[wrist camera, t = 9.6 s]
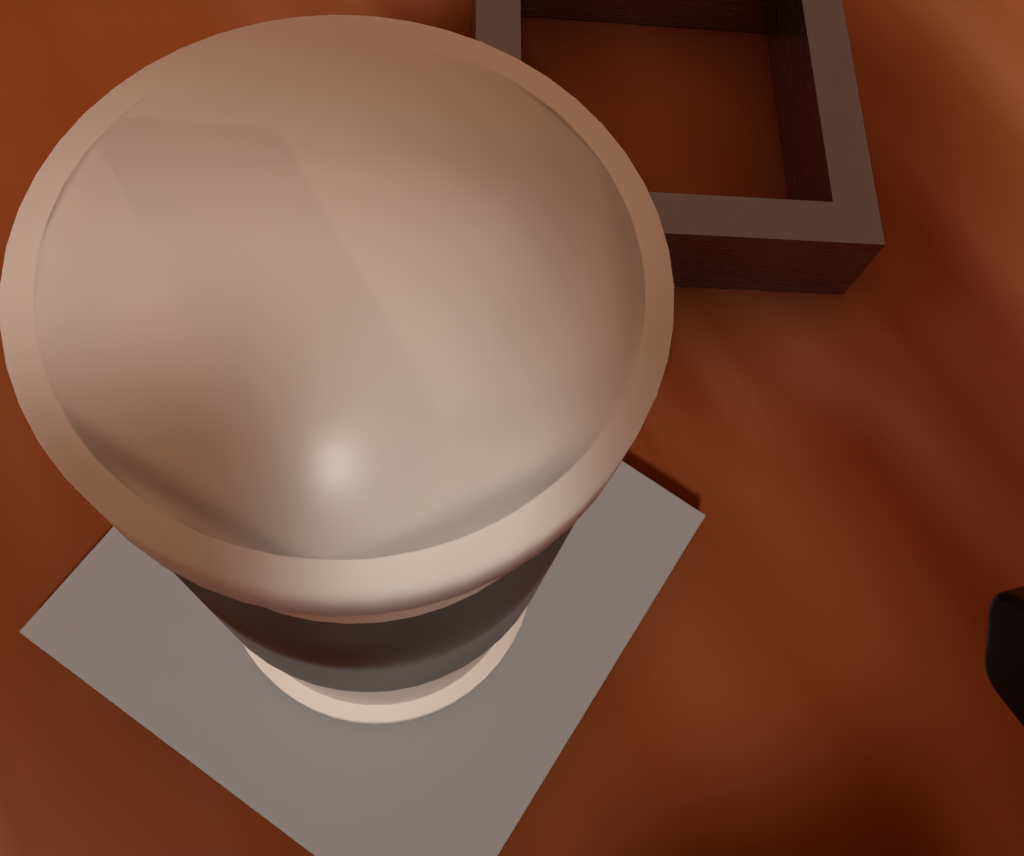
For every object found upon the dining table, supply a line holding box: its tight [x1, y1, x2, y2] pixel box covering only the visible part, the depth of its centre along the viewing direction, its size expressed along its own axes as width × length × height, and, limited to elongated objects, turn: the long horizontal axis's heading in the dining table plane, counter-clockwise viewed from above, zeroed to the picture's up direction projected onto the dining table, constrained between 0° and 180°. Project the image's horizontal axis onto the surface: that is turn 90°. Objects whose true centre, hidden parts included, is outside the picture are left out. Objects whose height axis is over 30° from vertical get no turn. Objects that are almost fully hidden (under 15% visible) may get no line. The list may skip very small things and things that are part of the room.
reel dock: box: [471, 0, 885, 294], centre depth 26 cm, size 10×10×2 cm
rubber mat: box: [20, 461, 705, 856], centre depth 22 cm, size 11×11×1 cm
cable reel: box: [0, 15, 674, 725], centre depth 15 cm, size 7×7×13 cm
